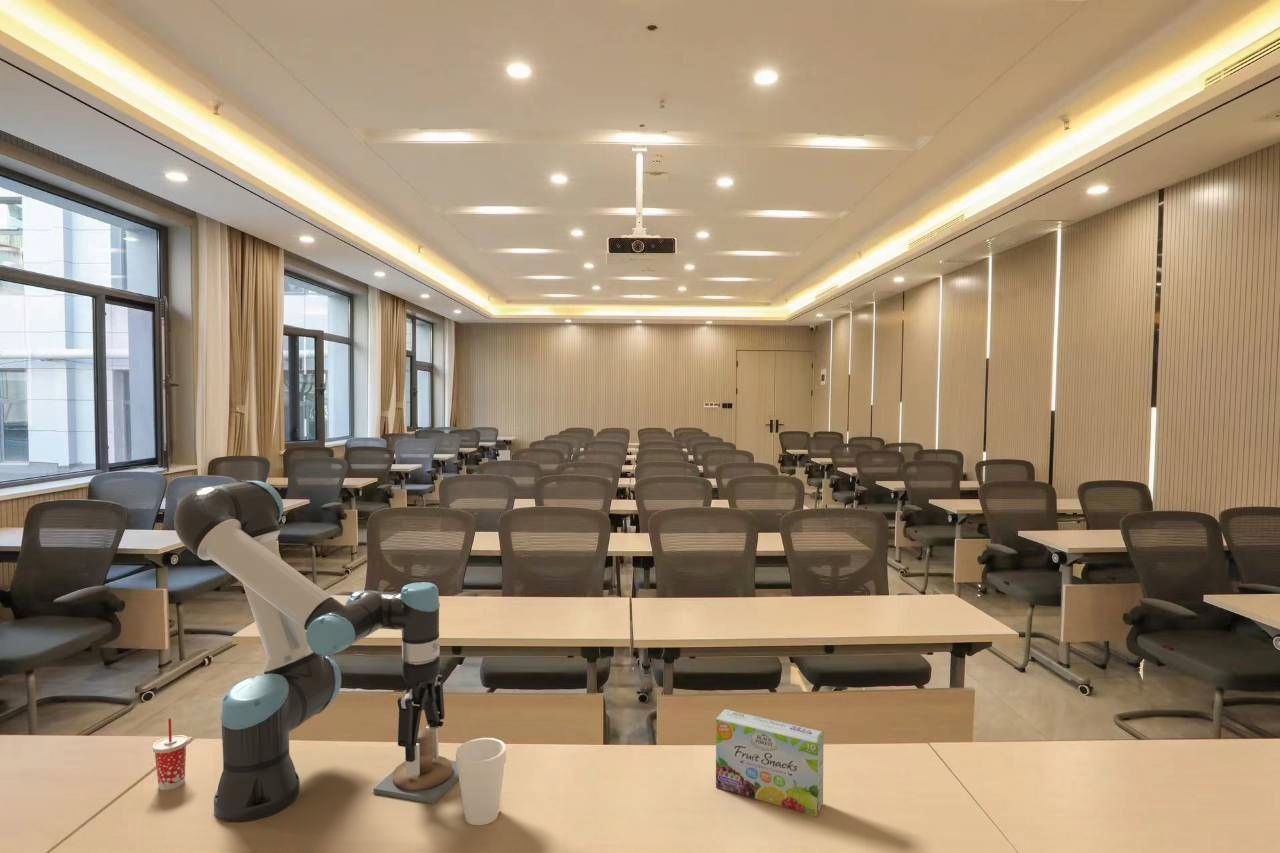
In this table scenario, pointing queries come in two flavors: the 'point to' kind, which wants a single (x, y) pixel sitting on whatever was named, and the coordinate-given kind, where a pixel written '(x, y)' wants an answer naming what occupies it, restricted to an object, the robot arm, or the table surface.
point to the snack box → (770, 761)
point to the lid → (424, 768)
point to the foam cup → (481, 778)
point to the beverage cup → (170, 760)
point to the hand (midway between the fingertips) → (422, 765)
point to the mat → (424, 796)
